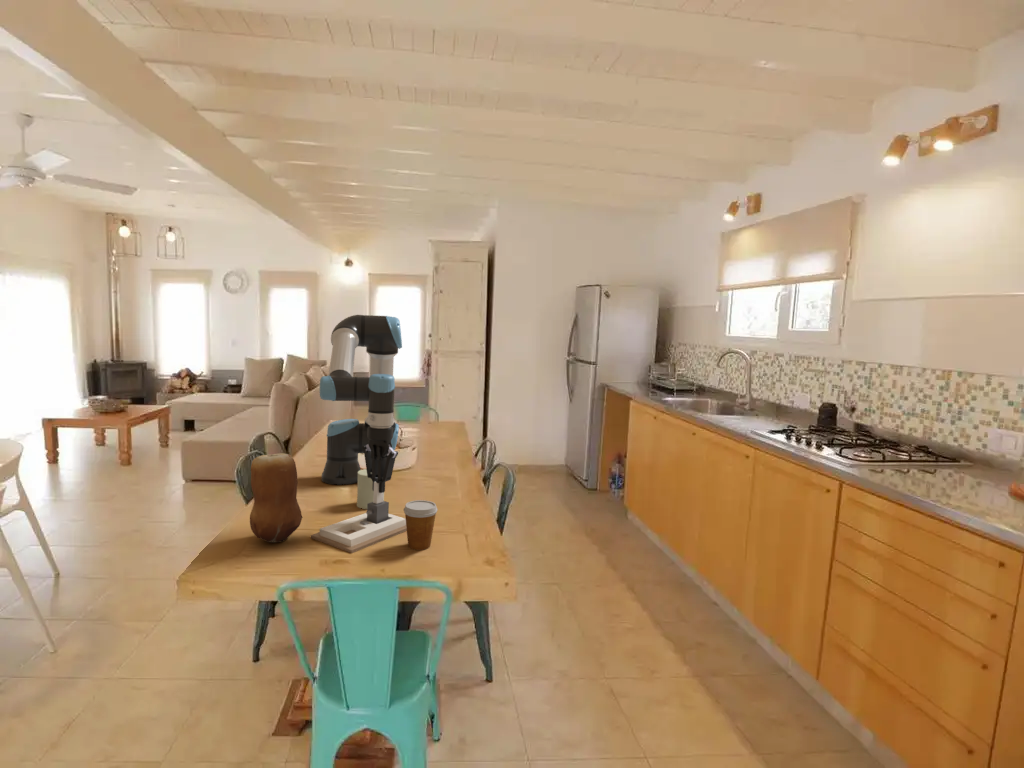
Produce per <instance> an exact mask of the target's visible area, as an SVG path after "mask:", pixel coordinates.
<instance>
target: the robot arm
mask: <svg viewBox="0 0 1024 768" xmlns="http://www.w3.org/2000/svg"><path fill="white" fill-rule="evenodd" d="M402 339H403V338H402V331H401V323H400V319H399V318H398V317H396V316H389V315H371V314H370V315H369V314H368V315H366V314H364V315H363V314H354V315H350V316H348V317H345V318H344V319H342V320H340V321H339V322H338V323H337V324H336V325H335V327H334V328H333V330H332V332H331V335H330V344H331V345H332V349H331V354H330V355H331V356H330V362H329V363H330V364H329V369H328V375H327V376H326V375H323V376H321V377H320V379H319V397H320V399H321V400H322V401H332V402H336V401H337V402H340V401H341V402H368V403H367V404H368V409H367V412H368V413H367V416H366V418H365V419H364V423H362V422H360V421H359V419H356V418H345V419H339V420H334V421H332V422H330V423H329V424H328V425H327V430H326V431H327V433H326V438H327V439H326V441H327V442H326V445H327V446H326V461H325V465H324V468H323V471H322V472H321V481H322V483H324V482H325V484H328V485H334V484H337V485H338V486H343V485H344V484H346V485H352V484H356V483H357V484H358V471H360V470H362V469H361V466H360V462H359V454H364V462H365V469H366V470H367V476H368V478H371V479H372V481H373V488H372V489H373V491H374V497H373V503H376V504H378V503H381V502H383V496H384V497H385V491H386V482H389V481H391V480H392V475H393V471H394V467H395V466H394V465H395V461H396V458H397V457H398V455H399V451H397V450H396V447H397V444H398V437H399V430H400V425H399V424H398V423H396V419H395V418H394V413H395V411H394V408H395V407H394V405H395V389H396V384H395V382H396V381H395V377H394V363H395V362H394V359H395V356H397V355H398V354H399V349H402V348H403V341H402ZM358 347H363V348H365V347H366V348H365V349H366V350H365V351H366V353H367V354H368V356H369V358H370V359H369V364H370V365H369V377H368V376H366V377H365V376H354V370H355V369H354V368H355V367H354V366H355V355H356V349H357V348H358ZM342 484H343V485H342ZM337 485H336V486H337Z"/></svg>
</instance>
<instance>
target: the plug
mask: <svg viewBox="0 0 1024 768" xmlns="http://www.w3.org/2000/svg"><path fill="white" fill-rule="evenodd" d="M389 506H390V502H389V501H385V500H384V501H383V502H381V503H378V504H376V503H373V502H371V503H368V504H367V509H366V512H365V513H366V514H367V521H368V522H372V523H375V524H378V523H381V522H384V521H386V520H388V513H389Z"/></svg>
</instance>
